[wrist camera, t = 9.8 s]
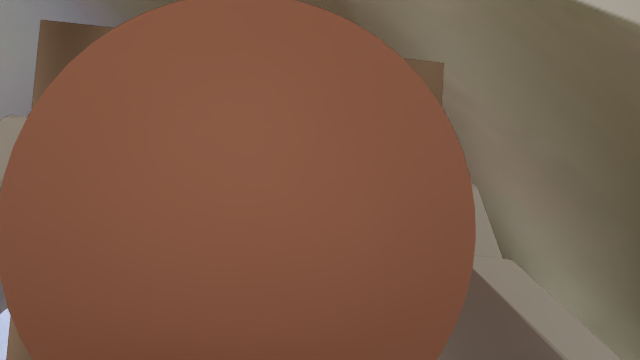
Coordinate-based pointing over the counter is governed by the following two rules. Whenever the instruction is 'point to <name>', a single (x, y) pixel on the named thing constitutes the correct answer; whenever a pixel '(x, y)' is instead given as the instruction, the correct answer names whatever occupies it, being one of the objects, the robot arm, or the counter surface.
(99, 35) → the socket plate
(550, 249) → the counter surface
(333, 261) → the peg
